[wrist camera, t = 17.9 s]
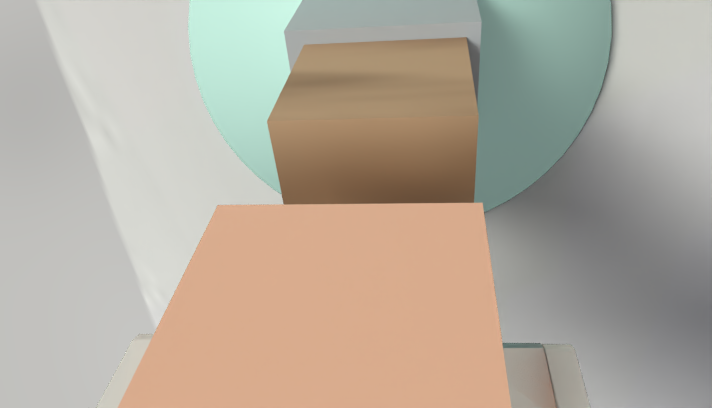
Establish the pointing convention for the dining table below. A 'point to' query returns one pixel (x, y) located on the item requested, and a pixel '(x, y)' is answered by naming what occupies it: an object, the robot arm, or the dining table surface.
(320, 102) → the walnut block
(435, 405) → the terracotta block
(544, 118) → the mint green round disc
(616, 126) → the dining table surface
